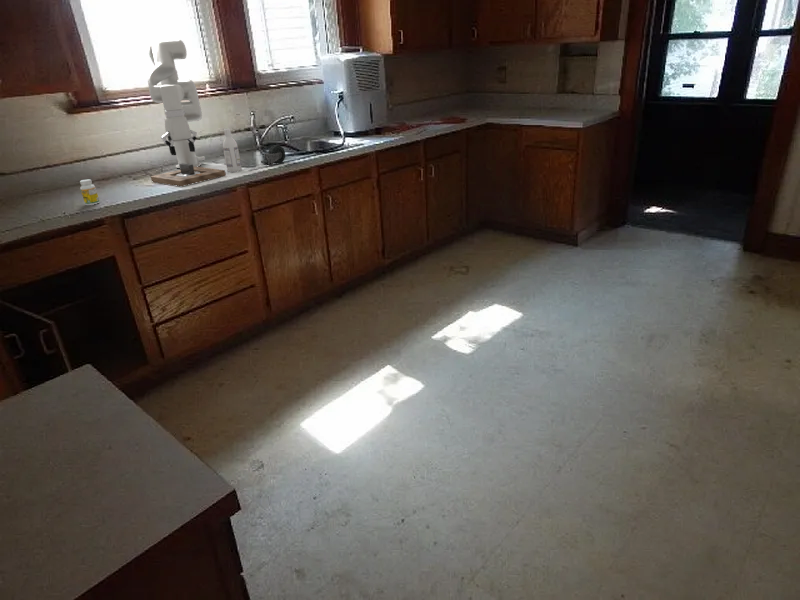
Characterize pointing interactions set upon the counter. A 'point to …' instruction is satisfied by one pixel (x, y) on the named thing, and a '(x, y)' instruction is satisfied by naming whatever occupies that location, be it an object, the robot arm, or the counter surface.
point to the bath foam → (231, 152)
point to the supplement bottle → (89, 192)
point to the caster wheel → (274, 155)
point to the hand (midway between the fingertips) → (183, 153)
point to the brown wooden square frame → (181, 181)
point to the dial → (187, 170)
